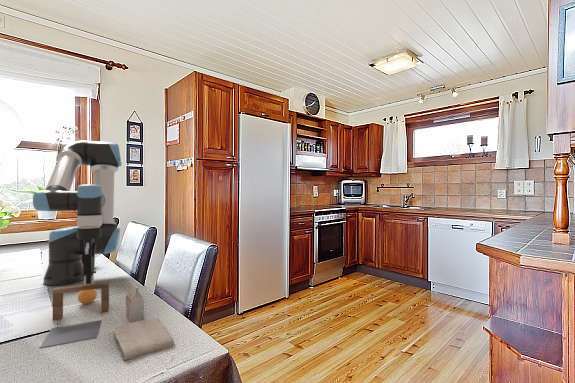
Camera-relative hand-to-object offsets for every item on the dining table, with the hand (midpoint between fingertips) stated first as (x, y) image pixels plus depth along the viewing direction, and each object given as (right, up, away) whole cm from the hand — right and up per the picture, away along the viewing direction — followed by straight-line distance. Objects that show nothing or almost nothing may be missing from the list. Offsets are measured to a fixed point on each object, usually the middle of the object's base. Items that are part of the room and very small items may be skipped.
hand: (88, 292), depth 108 cm
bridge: (+6, -3, -13) cm, 15 cm away
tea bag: (+24, -3, -15) cm, 29 cm away
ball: (+2, 0, -4) cm, 4 cm away
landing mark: (+13, -3, -25) cm, 28 cm away
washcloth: (+33, -3, -29) cm, 44 cm away
